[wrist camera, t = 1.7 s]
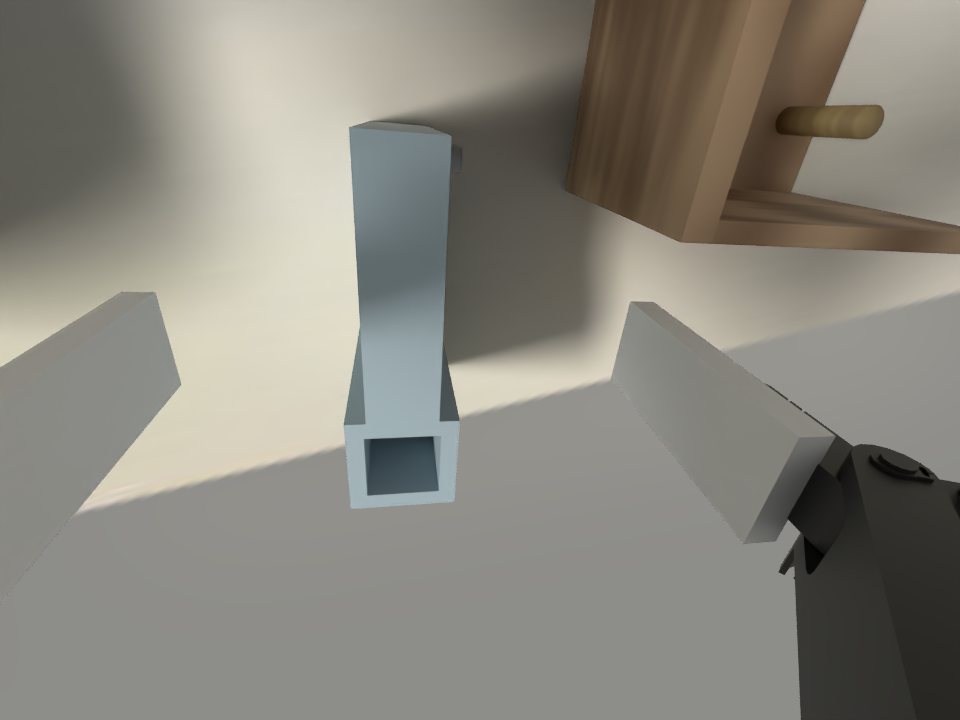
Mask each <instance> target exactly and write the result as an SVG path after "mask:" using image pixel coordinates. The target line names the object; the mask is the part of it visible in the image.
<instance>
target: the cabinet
mask: <svg viewBox="0 0 960 720" xmlns="http://www.w3.org/2000/svg"><path fill="white" fill-rule="evenodd" d="M865 1H866V0H596V4H595V10H594V16H593V22H592V29H591V35H590V41H589V47H588V54H587V60H586V66H585V72H584V78H583V85H582V91H581V97H580V103H579V109H578V116H577V122H576V128H575V134H574V140H573V147H572V153H571V159H570V165H569V172H568V178H567V184H566V191H568V192H570V193H572V194H575V195H577V196H579V197H581V198H584V199H586V200H588V201H590V202H592V203H595V204H597V205H599V206H601V207H604V208H606V209H608V210H610V211H612V212H615V213H617V214H619V215H621V216H623V217H626V218H628V219H630V220H632V221H635V222H637V223H639V224H641V225H643V226H646V227H648V228H650V229H652V230H655V231H657V232H659V233H661V234H663V235H666V236H668V237H670V238H672V239H675V240H677V241H679V242H685V243H709V244H733V245H756V246H780V247H804V248H828V249H852V250H876V251H900V252H924V253H947V254H960V226H956V225H951V224H946V223H941V222H936V221H931V220H926V219H921V218H916V217H911V216H906V215H901V214H896V213H891V212H886V211H881V210H876V209H871V208H866V207H861V206H856V205H850V204H845V203H840V202H835V201H830V200H825V199H820V198H815V197H810V196H805V195H800V194H795V193H790V192H791V190H792V187H793V185H794V182H795V180H796V177H797V174H798V172H799V169H800V167H801V164H802V162H803V159H804V157H805V154H806V151H807V149H808V146H809V144H810V141H811V139H812V136H813V137H831V138H850V139H867V138H870V137H871V136H873V135H874V134H875V133H876V132H877V131H878V130H879V128H880V127H881V125H882V122H883V119H884V110H883V108H882V107H881V106H879V105H849V106H824V105H825V103H826V100H827V98H828V95H829V93H830V90H831V88H832V85H833V82H834V80H835V77H836V75H837V72H838V70H839V67H840V64H841V62H842V59H843V57H844V54H845V52H846V49H847V47H848V44H849V41H850V39H851V36H852V34H853V31H854V29H855V26H856V24H857V21H858V18H859V16H860V13H861V11H862V8H863V6H864V3H865Z"/></svg>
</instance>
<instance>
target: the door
mask: <svg viewBox="0 0 960 720" xmlns="http://www.w3.org/2000/svg"><path fill="white" fill-rule="evenodd" d="M349 134H350V152H351V170H352V188H353V206H354V223H355V241H356V259H357V277H358V295H359V313H360V330H359V336H358V342H357V348H356V354H355V360H354V366H353V372H352V378H351V384H350V391H349V397H348V403H347V409H346V415H345V421H344V434H345V446H346V457H347V468H348V481H349V492H350V504H351V509H356V508H371V507H383V506H398V505H413V504H427V503H442V502H454V496H455V481H456V467H457V466H456V465H457V452H458V438H459V424H460V420H459V415H458V410H457V406H456V401H455V396H454V391H453V387H452V382H451V377H450V372H449V367H448V363H447V358H446V353H445V348H444V344H443V326H444V303H445V280H446V256H447V233H448V210H449V186H450V172H453V173H460V171H461V163H462V148H461V146H455V145H451V139H452V136H451V135H448V134H446V133H443V132H441V131H438V130H435V129H433V128H430V127H428V126H422V125H410V124H399V123H387V122H375V121H369V122H366V123H362V124H359V125H356V126H352V127H349Z"/></svg>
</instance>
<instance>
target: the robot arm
mask: <svg viewBox="0 0 960 720" xmlns="http://www.w3.org/2000/svg"><path fill="white" fill-rule="evenodd" d="M611 379H612V381H613V382H614V383H615V384H616V386H617V387H618V388H619V389H620V391H621V392H622V393H623V394H624V396H625V397H626V398H627V399H628V401H629V402H630V403H631V404H632V405H633V407H634V408H635V409H636V411H637V412H638V413H639V414H640V416H641V417H642V418H643V419H644V420H645V422H646V423H647V424H648V426H649V427H650V428H651V429H652V431H653V432H654V433H655V434H656V436H657V437H658V438H659V439H660V441H661V442H662V443H663V444H664V445H665V447H666V448H667V449H668V451H669V452H670V453H671V454H672V456H673V457H674V458H675V459H676V460H677V462H678V463H679V464H680V466H681V467H682V468H683V469H684V471H685V472H686V473H687V474H688V475H689V477H690V478H691V479H692V481H693V482H694V483H695V484H696V486H697V487H698V488H699V489H700V491H701V492H702V493H703V494H704V496H705V497H706V498H707V499H708V501H709V502H710V503H711V504H712V506H713V507H714V508H715V509H716V511H717V512H718V513H719V514H720V516H721V517H722V518H723V519H724V521H725V522H726V523H727V524H728V526H729V527H730V528H731V529H732V531H733V532H734V533H735V534H736V536H737V537H738V538H739V539H740V541H741V542H742V543H743V544H748V543H760V542H771V541H776V540H777V538H778V536H779V534H780V532H781V531H782V529H783V527H784V525H785V524H786V522H787V520H789V521H790V522H791V523H792V524H793V525H794V526H795V527H796V528H797V529H798V530H799V531H800V532H801V533H800V535H799V537H798V538H797V540H796V541H795V543H794V545H793V546H792V548H791V550H790V551H789V553H788V555H787V556H786V558H785V559H784V561H783V563H782V564H781V567H780V570H779V573H781V574H784V575H785V573H786V572H787V570H788V569H789V568H790V567H793V566H794V568H795V577H794V579H795V589H796V615H797V638H798V660H799V684H800V708H801V720H960V483H956V482H951V481H945V480H939V479H938V478H937V476H936V475H935V474H934V473H933V472H932V471H930V469H928V468H927V467H925V466H923V465H922V464H921V463H919V462H917V461H915V460H913V459H911V458H910V457H908V456H906V455H904V454H901V453H898V452H896V451H893V450H891V449H888V448H884V447H880V446H876V445H866V444H864V445H863V444H860V445H857V446H854V447H853V446H852V445H850V444H849V443H848V442H846V441H845V440H844V439H842V438H841V437H839V436H838V435H837V434H835V433H834V432H833V431H831V430H830V429H829V428H827V427H826V426H824V425H823V424H822V423H820V422H819V421H818V420H816V419H815V418H813V417H812V416H811V415H809V414H808V413H807V412H802V409H801V408H800V407H798V406H797V405H796V404H794V403H793V402H791V401H788V399H787V398H786V397H784V396H783V395H782V394H780V393H779V392H778V391H776V390H775V389H774V388H772V387H771V386H769V385H767V384H765V383H763V382H762V381H760V380H759V379H757V378H756V377H755V376H753V375H752V374H751V373H749V372H748V371H747V370H745V369H744V368H743V367H741V366H740V365H738V364H737V363H736V362H734V361H733V360H732V359H730V358H729V357H728V356H726V355H725V354H723V353H722V352H721V351H719V350H718V349H717V348H715V347H714V346H713V345H711V344H710V343H709V342H707V341H706V340H704V339H703V338H702V337H700V336H699V335H698V334H696V333H695V332H694V331H692V330H691V329H689V328H688V327H687V326H685V325H684V324H683V323H681V322H680V321H679V320H677V319H676V318H674V317H673V316H672V315H670V314H669V313H668V312H666V311H665V310H664V309H662V308H661V307H659V306H658V305H657V304H655V303H654V302H630V305H629V309H628V313H627V317H626V321H625V325H624V329H623V333H622V337H621V341H620V345H619V349H618V353H617V357H616V361H615V365H614V369H613V373H612V376H611ZM180 385H181V382H180V378H179V375H178V371H177V367H176V364H175V360H174V357H173V353H172V350H171V346H170V343H169V339H168V336H167V332H166V329H165V325H164V322H163V318H162V315H161V311H160V307H159V304H158V300H157V297H156V293H153V292H121V293H119V294H117V295H116V296H114V297H113V298H111V299H109V300H108V301H106V302H105V303H103V304H101V305H100V306H98V307H97V308H95V309H93V310H92V311H90V312H89V313H87V314H85V315H84V316H82V317H81V318H79V319H77V320H76V321H74V322H73V323H71V324H69V325H68V326H66V327H65V328H63V329H61V330H60V331H58V332H57V333H55V334H53V335H52V336H50V337H48V338H47V339H45V340H44V341H42V342H40V343H39V344H37V345H36V346H34V347H32V348H31V349H29V350H28V351H26V352H24V353H23V354H21V355H20V356H18V357H16V358H15V359H13V360H12V361H10V362H8V363H7V364H5V365H4V366H2V367H0V603H1V602H2V601H3V600H4V599H5V598H6V596H7V595H8V594H9V593H10V591H11V590H12V589H13V588H14V587H15V585H16V584H17V583H18V582H19V581H20V579H21V578H22V577H23V576H24V575H25V573H26V572H27V571H28V570H29V568H30V567H31V566H32V565H33V564H34V562H35V561H36V560H37V559H38V558H39V556H40V555H41V554H42V553H43V552H44V550H45V549H46V548H47V547H48V545H49V544H50V543H51V542H52V541H53V539H54V538H55V537H56V536H57V535H58V533H59V532H60V531H61V529H62V528H63V527H64V526H65V525H66V524H67V522H68V521H69V520H70V519H71V518H72V516H73V515H74V514H75V513H76V512H77V510H78V509H79V508H80V507H81V505H82V504H83V503H84V502H85V501H86V499H87V498H88V497H89V496H90V495H91V493H92V492H93V491H94V490H95V488H96V487H97V486H98V485H99V484H100V482H101V481H102V480H103V479H104V478H105V476H106V475H107V474H108V473H109V472H110V470H111V469H112V468H113V467H114V465H115V464H116V463H117V462H118V461H119V459H120V458H121V457H122V456H123V455H124V453H125V452H126V451H127V450H128V448H129V447H130V446H131V445H132V444H133V442H134V441H135V440H136V439H137V438H138V436H139V435H140V434H141V433H142V432H143V430H144V429H145V428H146V427H147V425H148V424H149V423H150V422H151V421H152V419H153V418H154V417H155V416H156V415H157V413H158V412H159V411H160V410H161V408H162V407H163V406H164V405H165V404H166V402H167V401H168V400H169V399H170V398H171V396H172V395H173V394H174V393H175V391H176V390H177V389H178V388H179V387H180Z"/></svg>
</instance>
